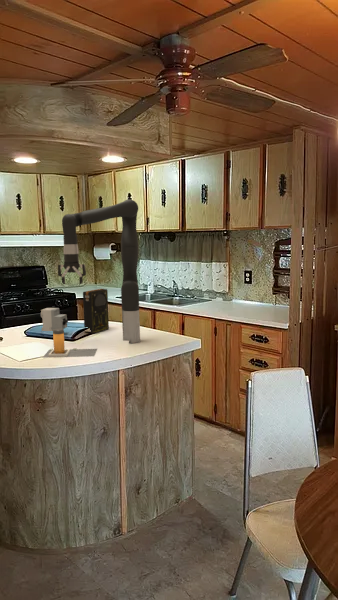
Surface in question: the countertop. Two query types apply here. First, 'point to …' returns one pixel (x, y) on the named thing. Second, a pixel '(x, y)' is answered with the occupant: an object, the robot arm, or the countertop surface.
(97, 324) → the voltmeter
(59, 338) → the post
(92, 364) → the countertop surface
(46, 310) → the circuit breaker
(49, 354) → the board
